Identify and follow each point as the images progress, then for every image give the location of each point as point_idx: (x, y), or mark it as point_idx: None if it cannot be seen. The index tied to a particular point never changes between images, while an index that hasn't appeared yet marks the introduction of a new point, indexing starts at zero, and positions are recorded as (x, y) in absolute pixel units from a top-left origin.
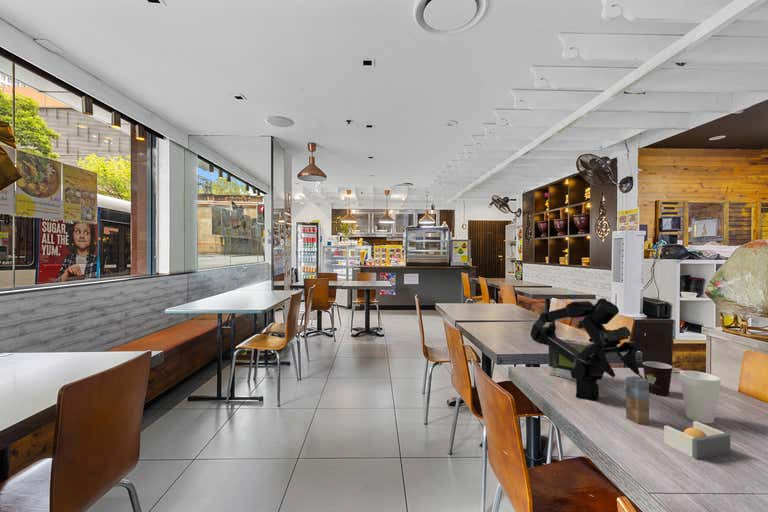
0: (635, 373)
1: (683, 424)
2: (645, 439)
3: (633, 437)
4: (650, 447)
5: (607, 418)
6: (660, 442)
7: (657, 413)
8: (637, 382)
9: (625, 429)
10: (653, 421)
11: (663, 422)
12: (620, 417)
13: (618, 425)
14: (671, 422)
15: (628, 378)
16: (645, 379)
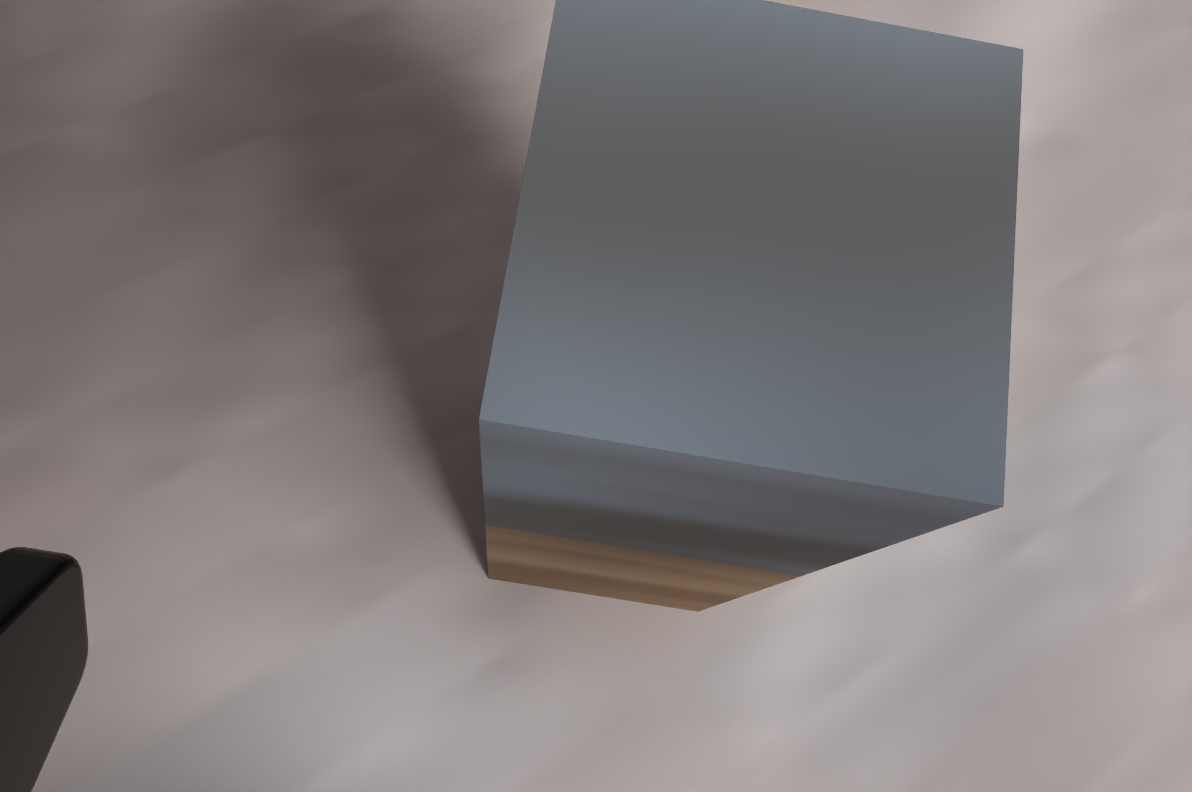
0: (60, 718)
1: (136, 145)
2: (1040, 127)
3: (1131, 212)
4: (1154, 10)
5: (975, 731)
6: (945, 21)
7: (25, 525)
8: (1001, 89)
9: (1038, 382)
10: (422, 373)
11: (323, 294)
12: (749, 672)
13: (1023, 499)
14: (216, 247)
15: (995, 403)
16: (585, 51)
